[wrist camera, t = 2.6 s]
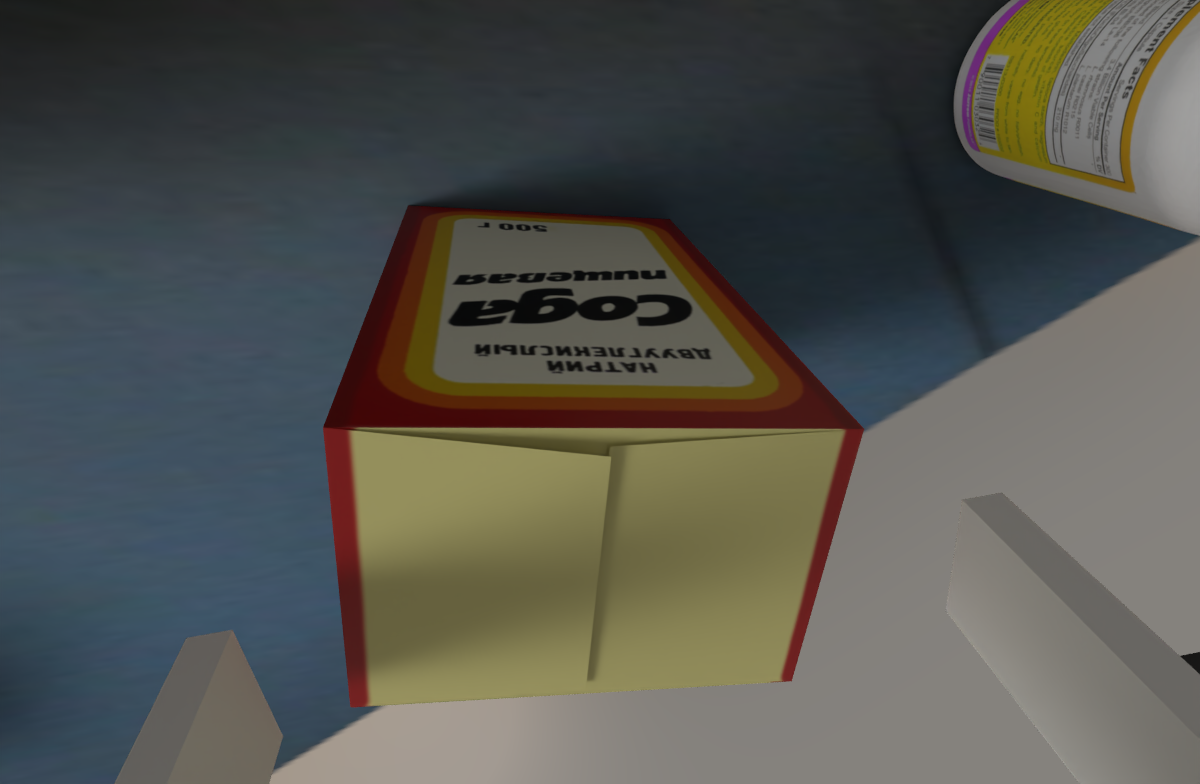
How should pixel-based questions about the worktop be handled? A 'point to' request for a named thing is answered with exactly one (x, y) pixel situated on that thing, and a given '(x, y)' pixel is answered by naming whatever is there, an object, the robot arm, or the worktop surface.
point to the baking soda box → (573, 467)
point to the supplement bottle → (1090, 103)
